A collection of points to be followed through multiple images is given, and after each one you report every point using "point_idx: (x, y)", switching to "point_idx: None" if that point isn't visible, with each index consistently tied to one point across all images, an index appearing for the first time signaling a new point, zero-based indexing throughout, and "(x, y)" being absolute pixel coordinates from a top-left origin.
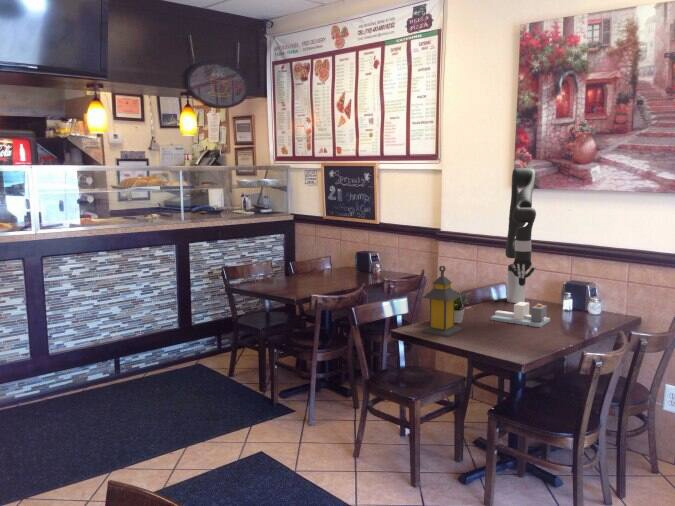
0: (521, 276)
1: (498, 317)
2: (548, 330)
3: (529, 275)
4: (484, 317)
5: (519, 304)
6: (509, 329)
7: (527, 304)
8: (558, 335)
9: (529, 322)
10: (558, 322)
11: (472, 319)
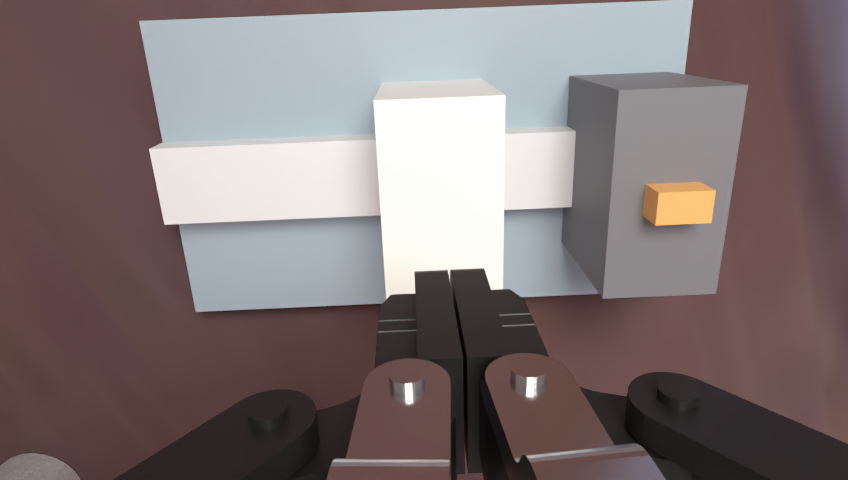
0: (456, 476)
1: (260, 290)
2: (728, 320)
3: (719, 424)
4: (108, 250)
5: (435, 263)
6: (465, 452)
7: (502, 164)
8: (818, 399)
9: (562, 290)
10: (763, 3)
11: (80, 367)
